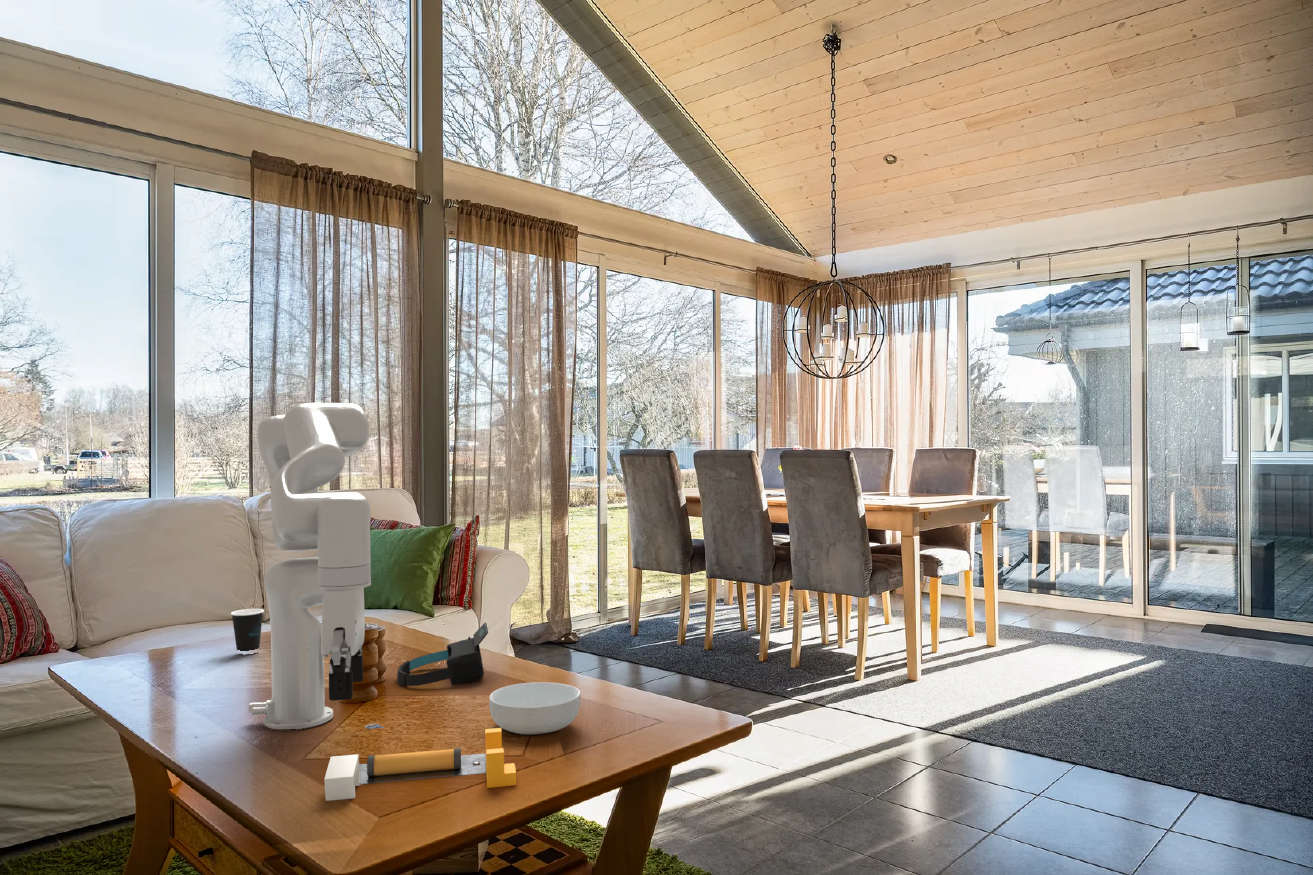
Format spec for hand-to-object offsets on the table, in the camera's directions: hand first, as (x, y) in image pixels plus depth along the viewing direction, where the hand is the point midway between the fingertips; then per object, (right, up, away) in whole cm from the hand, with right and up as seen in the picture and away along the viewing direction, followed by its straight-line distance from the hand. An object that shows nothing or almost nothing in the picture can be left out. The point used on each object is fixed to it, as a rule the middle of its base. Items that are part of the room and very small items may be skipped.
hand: (346, 690), depth 133 cm
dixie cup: (-61, -19, +99) cm, 117 cm away
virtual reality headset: (-2, -18, +70) cm, 72 cm away
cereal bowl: (+25, -16, +29) cm, 42 cm away
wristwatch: (-2, -17, +27) cm, 32 cm away
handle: (+8, -14, +8) cm, 18 cm away
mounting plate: (+8, -16, +8) cm, 20 cm away
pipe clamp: (+22, -16, +6) cm, 28 cm away
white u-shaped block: (0, -16, -1) cm, 16 cm away
